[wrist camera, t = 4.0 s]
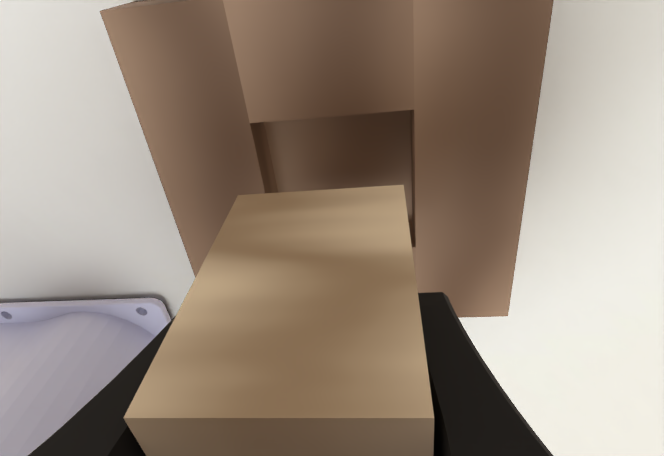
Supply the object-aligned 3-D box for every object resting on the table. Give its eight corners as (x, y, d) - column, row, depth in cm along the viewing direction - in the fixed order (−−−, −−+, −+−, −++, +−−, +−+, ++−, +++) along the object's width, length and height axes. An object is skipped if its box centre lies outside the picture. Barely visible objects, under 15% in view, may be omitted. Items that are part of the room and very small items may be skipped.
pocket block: (225, 291, 20) (212, 323, 19) (132, 1, 14) (99, 10, 12) (495, 282, 19) (507, 315, 17) (534, -48, 12) (560, -45, 11)
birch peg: (268, 314, 13) (204, 551, 8) (238, 194, 11) (123, 417, 6) (406, 310, 12) (430, 560, 7) (403, 184, 10) (434, 418, 5)
